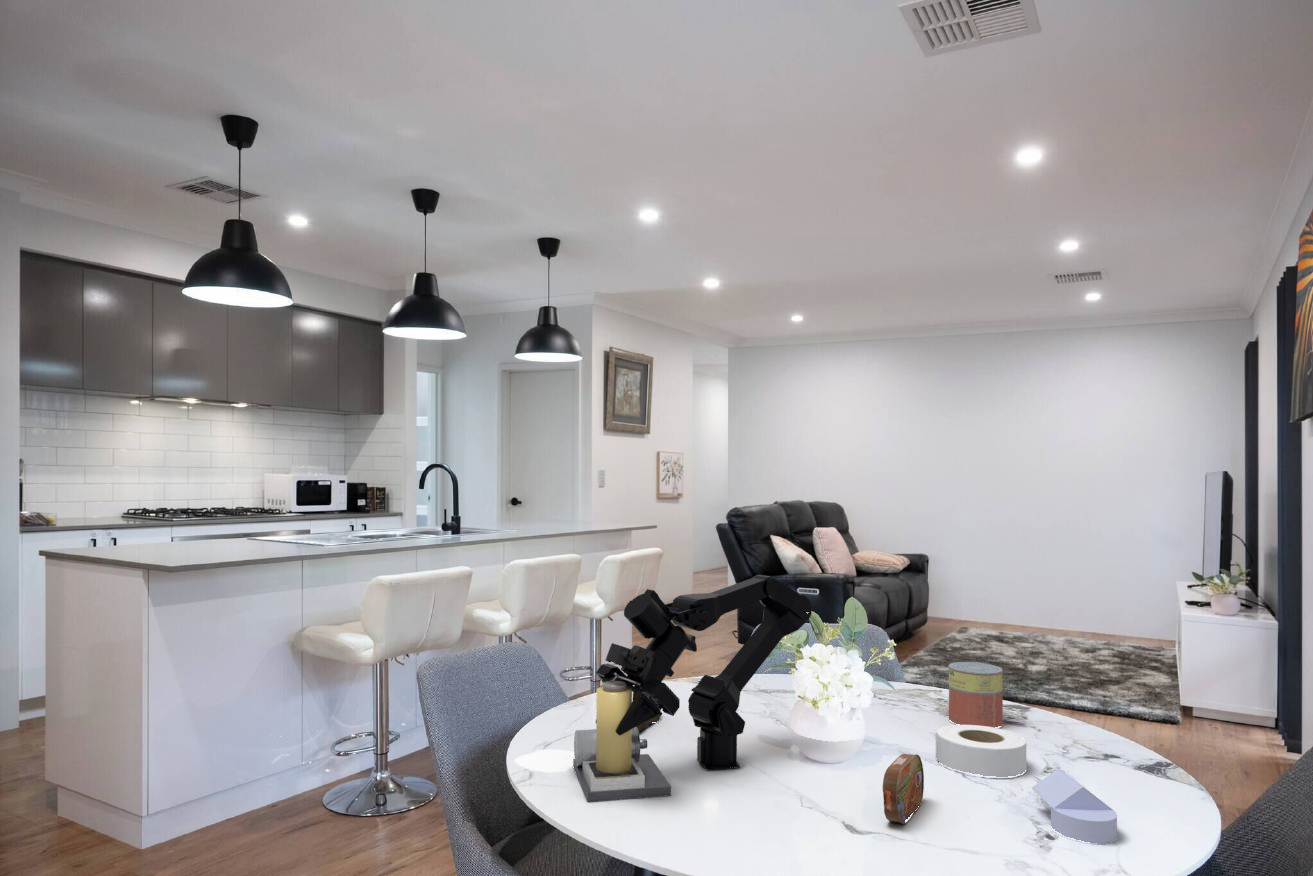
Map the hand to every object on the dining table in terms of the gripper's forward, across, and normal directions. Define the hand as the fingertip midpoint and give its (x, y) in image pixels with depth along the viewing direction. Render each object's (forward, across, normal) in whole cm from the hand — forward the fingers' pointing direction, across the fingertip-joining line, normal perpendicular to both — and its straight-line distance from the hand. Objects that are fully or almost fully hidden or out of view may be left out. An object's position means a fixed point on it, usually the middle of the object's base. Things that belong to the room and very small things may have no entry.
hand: (607, 729), depth 144 cm
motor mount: (+4, -3, +10) cm, 12 cm away
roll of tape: (-38, +27, +54) cm, 72 cm away
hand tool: (-10, -27, +26) cm, 39 cm away
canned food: (-55, +10, +71) cm, 91 cm away
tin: (-16, +34, +32) cm, 50 cm away
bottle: (+4, 0, +6) cm, 7 cm away
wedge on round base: (-30, +52, +45) cm, 75 cm away
